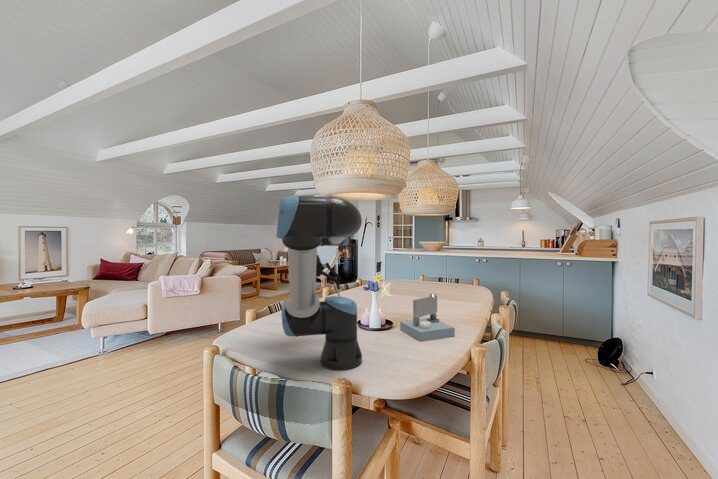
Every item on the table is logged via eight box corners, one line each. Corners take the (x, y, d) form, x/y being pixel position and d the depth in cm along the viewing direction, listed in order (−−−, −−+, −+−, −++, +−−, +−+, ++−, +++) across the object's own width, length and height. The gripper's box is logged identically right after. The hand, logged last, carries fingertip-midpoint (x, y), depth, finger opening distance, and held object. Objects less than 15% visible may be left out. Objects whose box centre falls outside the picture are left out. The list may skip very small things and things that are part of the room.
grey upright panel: (412, 324, 143) (412, 297, 143) (432, 318, 154) (432, 293, 154) (417, 326, 141) (417, 298, 141) (438, 319, 152) (438, 294, 151)
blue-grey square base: (455, 336, 140) (455, 326, 140) (420, 341, 134) (420, 330, 134) (432, 325, 157) (432, 316, 157) (400, 329, 150) (400, 320, 150)
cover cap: (433, 328, 138) (433, 323, 138) (423, 330, 137) (423, 324, 137) (426, 325, 143) (426, 320, 143) (417, 326, 141) (417, 321, 141)
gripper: (336, 247, 141) (349, 290, 143) (282, 264, 137) (297, 309, 140) (338, 248, 134) (352, 294, 136) (281, 267, 130) (297, 313, 132)
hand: (324, 301), depth 138 cm, fingers open, 13 cm apart
